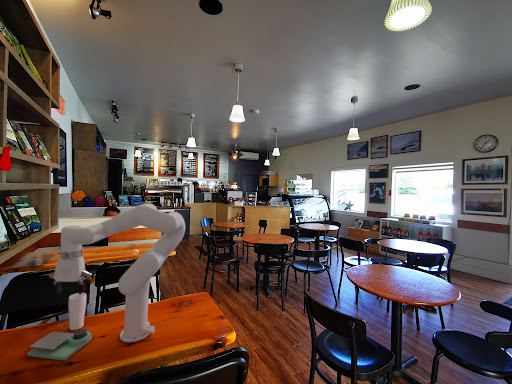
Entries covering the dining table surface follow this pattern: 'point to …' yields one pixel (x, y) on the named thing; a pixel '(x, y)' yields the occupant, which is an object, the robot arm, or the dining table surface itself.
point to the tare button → (80, 334)
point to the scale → (62, 349)
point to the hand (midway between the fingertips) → (70, 292)
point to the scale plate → (51, 340)
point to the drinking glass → (77, 310)
